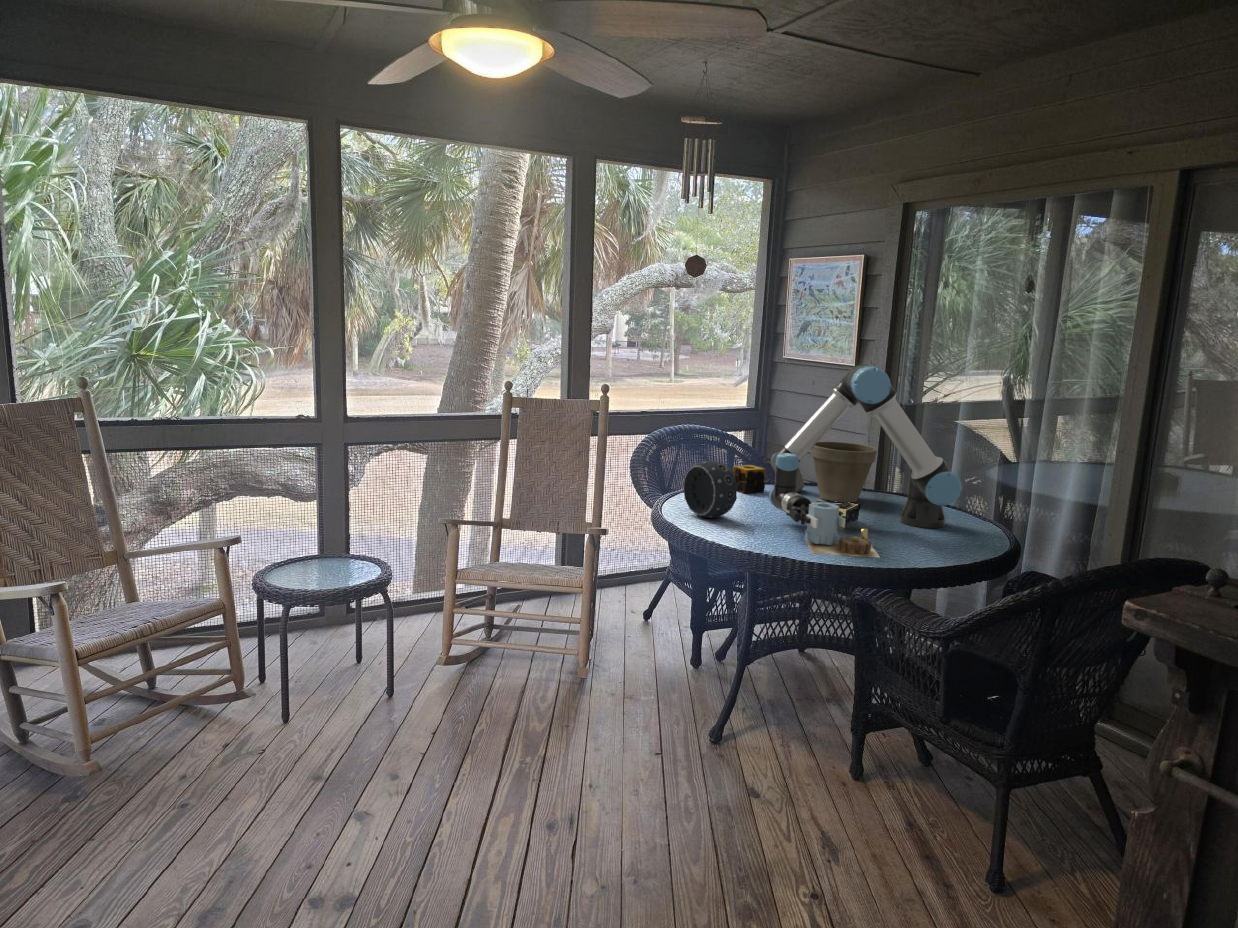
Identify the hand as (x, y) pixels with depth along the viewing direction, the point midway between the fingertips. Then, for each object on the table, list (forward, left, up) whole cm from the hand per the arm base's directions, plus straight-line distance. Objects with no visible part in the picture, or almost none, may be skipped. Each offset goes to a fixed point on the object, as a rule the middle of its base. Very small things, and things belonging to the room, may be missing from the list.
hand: (830, 523), depth 244 cm
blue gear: (+2, -4, -6) cm, 8 cm away
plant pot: (-15, -77, -9) cm, 79 cm away
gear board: (-4, -1, -9) cm, 10 cm away
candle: (+21, -83, -9) cm, 86 cm away
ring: (+37, -35, -9) cm, 52 cm away
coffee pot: (+7, -85, -9) cm, 86 cm away
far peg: (-11, -5, -7) cm, 15 cm away
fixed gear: (-7, +2, -7) cm, 11 cm away
